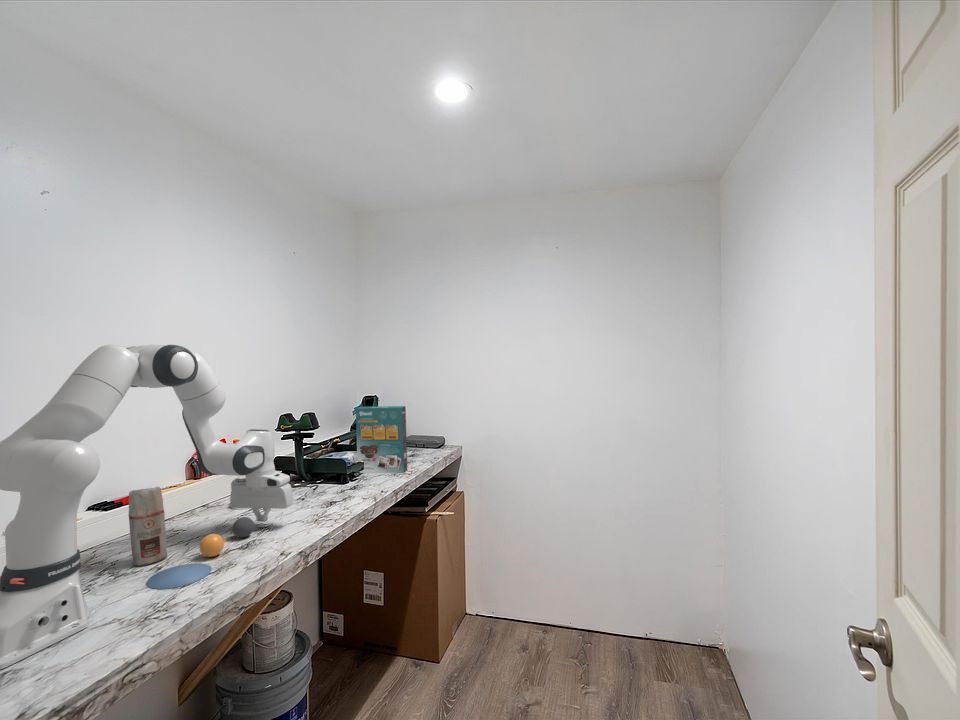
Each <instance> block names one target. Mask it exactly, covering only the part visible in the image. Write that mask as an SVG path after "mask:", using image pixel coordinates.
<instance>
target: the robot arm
mask: <svg viewBox="0 0 960 720" xmlns="http://www.w3.org/2000/svg"><path fill="white" fill-rule="evenodd" d="M166 387H167V388H168V387H170V388H171V387H172V390H173V391H174V393H175V395H176V396H177V398H178V400H179V403H180V404H181V406H182V412H181V413H182V419H183V423H184V424H185V427H186V430H187V432H188V435H189V438H190V439H191V442H192V444H193V446H194V449H195V453H196V459H197V463H198V467H199V469H200V470H201V472H203V474H205V475H208V476H221V475H222V476H237V478H235V479H233V480H232V482H230V483H231V484H230V486H231V487H230V489H231V491H230V497H229V505H230V506H231V508H232V507H233V508H249V509H252V512H253V515H255V517H256V519H255V520H256V522H260V523H261V522H263V523H264V522H265V523H266V522H267V521H268V517H269V514H270V512H271V510H272V509H279V510H281V509H282V510H283V509H285V510H286V509H288V508H289V507H291V506H292V505H293V503H294V497H293V489H292V486H291V484H290V483H289V482H290V481H291V476H290V475H288V474H286V473H282V472H280V471H277V470H276V467H275V462H274V459H275V443H274V437H273V433H272V432H271V430H268V429H255V428H254V429H252V428H251V429H247V430H246V432H245V435H244V436H243V437H242V438H241V439H239V440H238V441H236V442H235V443H230V442H229V443H227V442H226V443H225V442H223V441H220V440H218V439H217V437H216V436H215V432H214V431H213V428H212V425H211V423H210V420H209V419H210V418H212V417H214V416H215V415H216V414H218V413H219V411H221V410H222V409H223V407H224V405H225V402H226V397H227V396H226V393H225V390H224V388H223V386H222V384H221V382H220V380H219V378H218V376H217V375H216V373H215V371H214V370H213V368H212V367H211V366H210V364H209V363H208V362H207V361H206V359H205V358H204V357H203V356H202V355H201V354H200V353H197V352H195V351H191V350H189V349H188V348H186V347H183V346H182V345H176V344H166V345H165V344H145V345H139V346H129V347H124V346H121V345H118V344H105V345H102V346H99V347H98V348H97V349H95V350H94V351H92V353H90V354H89V355H88V356H87V357H86V358H85V359H84V360H82V362H81V363H80V364H78V366H77V367H76V368H75V369H74V370H73V372H72V373H71V374H70V375H69V376H68V378H67V379H66V380H65V382H63V384H62V385H61V387H60V388H59V389H58V390H57V392H56V393H55V394H54V395H53V396H52V398H51V399H50V400H49V401H48V402H47V403H46V405H44V407H43V408H41V409H40V410H39V411H38V412H37V413H35V415H33V416H32V417H30V418H29V420H28V421H26V422H24V424H22V426H20V427H19V428H17V429H16V430H15V431H14V432H13V433H11V434H10V435H9V436H7V437H6V438H4V439H3V440H1V441H0V490H1V491H5V492H17V493H19V494H20V498H19V503H18V508H17V510H16V514H15V516H14V517H13V519H11V521H10V522H9V523H7V525H6V526H5V529H4V541H5V542H4V544H5V561H6V563H5V564H6V565H5V566H4V567H3V569H2V572H1V575H0V670H4V669H5V668H8V667H10V666H12V665H14V664H15V663H18V662H20V661H21V660H24V659H25V658H28V657H30V656H31V655H33V654H36V653H38V652H40V651H42V650H44V649H47V648H48V647H50V646H53V645H54V644H56V643H58V642H60V641H62V640H64V639H66V638H68V637H70V636H72V635H75V634H76V633H78V632H80V631H82V630H84V629H86V628H87V627H89V619H88V618H89V617H90V615H91V611H90V609H89V607H88V605H87V602H86V599H85V596H84V592H83V588H82V582H81V578H80V569H81V566H82V560H81V551H80V550H79V549H78V531H77V529H78V528H77V527H78V526H77V525H78V524H77V521H78V519H77V518H78V512H79V507H80V503H81V499H82V497H83V494H84V492H85V490H86V489H87V487H89V486H90V485H91V484H92V483H93V482H94V480H96V478H97V476H98V474H99V472H100V467H101V461H100V457H99V455H98V453H97V451H95V449H93V447H91V446H88V445H86V444H84V443H81V442H82V441H83V440H84V439H86V438H88V437H90V436H91V435H93V434H95V433H96V432H98V431H100V430H101V429H102V428H103V427H104V426H105V425H106V423H107V422H108V420H109V419H110V418H111V416H112V414H113V413H114V412H115V410H116V408H117V407H118V406H119V404H120V403H121V402H122V400H123V399H124V397H125V396H126V394H127V393H128V391H129V389H130V388H150V389H158V388H166ZM239 476H240V477H241V476H244V477H245V478H239ZM233 508H232V509H233ZM261 509H262V511H263V512H264V513H263V514H262V512H261V511H260V510H261Z"/></svg>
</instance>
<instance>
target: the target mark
mask: <svg viewBox="0 0 960 720" xmlns="http://www.w3.org/2000/svg"><path fill="white" fill-rule="evenodd" d="M211 571H212V566H211V565H210V564H207V563H202V562H199V563H197V562H196V563H192V562H191V563H185V564H179V565H174V566H171V567H169V568H168V567H167V568H165V569H163V570H161V571H158V572H157V573H155V574H153V575H151V576H150V577H149V578H148V579H147V581H146V586H147V587H148V588H150V589H153V590H169V589H175V588H181V587H184V586H185V587H186V586H188V585H191V584H193V583H195V582H196V583H197V582H198V581H201V580H202V579H204V578H206V577H207V576H208V575H210V573H211Z"/></svg>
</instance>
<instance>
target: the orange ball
mask: <svg viewBox="0 0 960 720" xmlns="http://www.w3.org/2000/svg"><path fill="white" fill-rule="evenodd" d="M224 547H225V540H224V538H223V536H221V535H219V534H217V533H211V534H208V535H206V536H205V537H204V538H202V540H201V541H200V543H199V551H200V553H201V555H203V556H204V557H207V558H213V557H216V556H218V555H220V554H221V552H223V549H224Z"/></svg>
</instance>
